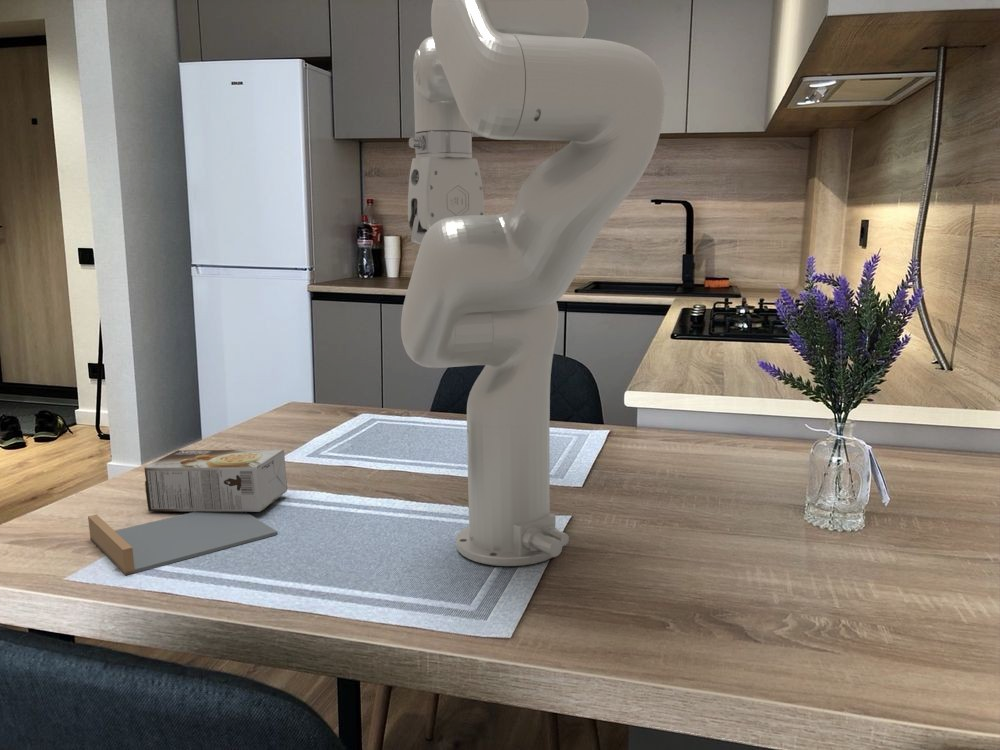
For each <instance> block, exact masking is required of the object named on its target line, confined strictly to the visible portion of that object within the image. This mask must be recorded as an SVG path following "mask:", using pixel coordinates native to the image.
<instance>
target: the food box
mask: <svg viewBox="0 0 1000 750" xmlns="http://www.w3.org/2000/svg"><path fill="white" fill-rule="evenodd" d="M144 477H145V481H144V486H145V487H144V489H145V496H146V502H147V509H148V510H147V511H148V512H196V511H209V512H247V513H249V512H252V513H254V512H257V513H260V512H261V511H264V510H265V509H266V508H267V507H268V506H269V505H271V504H272V503H273V502H274V503H275V501H276V500H278V499H279V498H280V497H281V496H283V495H284V494H285V493H287V491H288V480H287V471H286V458H285V450H284V449H222V450H221V449H217V450H216V449H209V450H208V449H207V450H206V449H205V450H204V449H203V450H202V449H201V450H200V449H199V450H198V449H197V450H196V449H195V450H193V449H191V450H188V449H186V450H183V449H181V450H179V449H178V450H176V451H173V452H172V453H169V454H167V455H165V456H163V457H161V458H160V459H158V460H156V461H154V462H152V463H150V464H148V465H145V466H144Z"/></svg>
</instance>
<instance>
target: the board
mask: <svg viewBox="0 0 1000 750" xmlns="http://www.w3.org/2000/svg"><path fill="white" fill-rule="evenodd" d="M87 519H88V521H87V522H88V531H89V537H90V538H89V539H90V540H91V542H92V543H93V544H94V545H95V546H96V547H97V548H98V549H99V550H100V551H101V552H102V553H103V554H104V555H105V556H106V557H107V558H108V559H109V560H110V561H111V563H112V564H113V565H114V566H116V567H117V568H118V569H119V571H120V572H122V573H123V575H124V576H129V575H133V574H136V573H139V572H143V571H147V570H151V569H155V568H158V567H162V566H166V565H170V564H174V563H177V562H181V561H184V560H185V561H186V560H188V559H192V558H195V557H199V556H203V555H207V554H210V553H211V554H212V553H216V552H217V551H218V552H219V551H221V550H225V549H229V548H233V547H237V546H240V545H243V544H247V543H252V542H255V541H259V540H264V539H265V538H270V537H274V536H278V531H277V530H276V529H274V528H272V527H271V526H269V525H268V524H266V523H264V522H263V521H262V520H259V519H258V518H256V517H254V515H252V514H250V513H249V512H209V511H191V512H189V513H184V514H179V515H175V516H171V517H167V518H163V519H159V520H155V521H150V522H146V523H142V524H137V525H132V526H129V527H125V528H120V529H116V530H114V529H113V528H112V527H111V526H110V525H109V524H108V523H107V522H106V521H105V520H103V518H101V517H100V516H99V515H98V514H92V515H88V516H87Z"/></svg>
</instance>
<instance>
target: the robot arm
mask: <svg viewBox="0 0 1000 750" xmlns="http://www.w3.org/2000/svg"><path fill="white" fill-rule="evenodd" d="M430 12H431V13H430V27H431V36H428V37H426V38H425V39H423V41H422V42H421V43H420V44H419V47H418V49H416V50H415V52H414V55H413V62H412V66H413V67H412V73H413V75H412V76H413V103H414V104H413V106H414V109H413V111H414V137H410V138H409V139H408V146H409V147H410V148H411V149H414V151H415V152H414V153H415V157H413V158H412V159H411V160H412V161H411V166H410V171H409V180H408V192H407V220H408V222H407V223H408V226H409V230H410V231H411V235H410V236H411V237H410V241H411V242H412V243H413V244H417V245H419V248H418V252H417V255H416V259H415V262H414V266H413V269H412V273H411V276H410V280H409V282H408V283H409V284H408V287H407V290H406V294H405V298H404V301H403V306H402V312H401V318H400V337H401V340H402V341H401V342H402V346H403V349H404V351H405V352H406V354H407V356H408V358H410V360H412V361H413V363H416V364H417V365H419V366H420V367H424V368H429V369H431V368H432V369H439V368H441V369H442V368H455V367H469V366H471V367H472V366H484V367H483V369H482V370H481V372H480V374H479V375H478V376H477V378H476V380H475V381H474V383H473V385H472V387H471V389H470V391H469V393H468V394H469V395H468V398H467V403H466V437H467V438H466V439H467V442H466V443H467V445H466V447H467V489H468V492H467V493H468V526H466V527H464V528H463V529H461V530H460V531H459V532H458V534H457V535H456V539H455V540H456V541H455V543H456V550H457V551H458V552H459V553H460V555H462V556H463V557H465V558H466V559H468V560H471V561H473V562H474V563H475V562H476V563H479V564H483V565H489V566H499V567H520V566H528V565H534V564H539V563H542V562H545V561H547V560H551V559H552V558H557V557H558V556H560V555H561V552H562V550H563V547H565V546H567V545H568V543H569V541H570V535H569V534H568V533H565V532H564V531H560V530H559V529H558V528H556V514H554V513H552V512H551V511H550V510H551V509H550V507H551V506H550V503H551V501H550V498H551V496H550V494H551V493H550V489H551V488H550V480H551V479H550V475H551V474H550V472H551V471H550V464H551V463H550V460H551V459H550V456H551V455H550V450H551V449H550V419H551V416H550V415H551V414H550V413H551V411H550V410H551V409H550V408H551V407H550V406H551V405H550V404H551V399H550V398H551V377H552V376H551V374H552V367H553V366H552V365H553V359H554V352H555V346H556V340H557V335H558V329H559V308H558V307H559V306H558V303H557V301H558V300H559V299H560V298H562V297H563V296H564V294H565V293H566V292H567V291H568V289H569V287H570V286H571V284H572V283H573V280H574V279H575V277H576V276H577V274H578V272H579V270H580V269H581V266H583V263H584V261H585V260H586V258H587V256H588V255H589V253H590V251H591V250H592V247H593V245H594V243H595V242H596V240H597V238H598V236H599V234H600V233H601V231H602V229H603V228H604V226H605V224H606V223H607V222H608V221H609V219H610V218H611V216H612V215H613V213H614V212H616V210H617V209H618V208H619V207H620V205H621V204H622V202H624V200H625V199H626V198H627V197H628V195H629V194H630V193H631V192H632V190H633V189H634V188H635V186H636V185H637V184H638V182H639V181H640V179H641V178H642V176H643V174H644V173H645V171H646V170H647V167H648V166H649V164H650V162H651V160H652V158H653V155H654V153H655V150H656V148H657V144H658V141H659V139H660V135H661V130H662V126H663V121H664V119H663V118H664V112H665V93H666V92H665V87H664V85H665V84H664V80H663V78H662V72H661V71H660V69H659V67H658V65H657V64H656V63H655V62H654V60H653V59H652V58H651V57H650V55H647V54H646V53H645V52H643V51H642V50H641V49H638V48H636V47H633V46H631V45H629V44H624V43H621V42H617V41H613V40H605V39H599V38H588V37H585V35H586V32H587V30H588V26H589V16H590V15H589V7H588V3H587V1H586V0H432V3H431V11H430ZM473 132H474V133H475V134H477V135H478V136H481V137H483V138H485V139H492V140H500V141H501V140H502V141H504V140H505V141H507V140H509V141H510V140H511V141H516V140H517V141H518V140H519V141H554V142H555V141H558V142H559V141H560V142H562V141H563V142H564V141H565V142H568V141H569V143H568V144H566V145H565V146H564V147H562V148H561V149H560V150H558V151H557V152H555V153H554V154H552V155H551V156H549V157H548V158H547V159H546V160H544V161H543V162H542V163H540V164H539V165H538V166H537V167H536V168H535V169H534V170H533V171H532V172H531V173H530V174H529V176H528V177H526V179H525V181H524V182H523V183H522V185H521V187H520V189H519V190H518V193H517V195H516V196H517V197H516V199H515V201H514V204H513V206H512V207H511V209H510V210H509V211H507V212H504V213H499V214H498V213H497V214H485V213H486V212H485V199H484V191H483V190H484V189H483V181H482V176H481V170H480V166H479V163H478V158H473V147H472V146H473V145H472V144H473V143H472V142H473V141H472V139H473V138H472V137H473V136H472V133H473Z"/></svg>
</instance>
